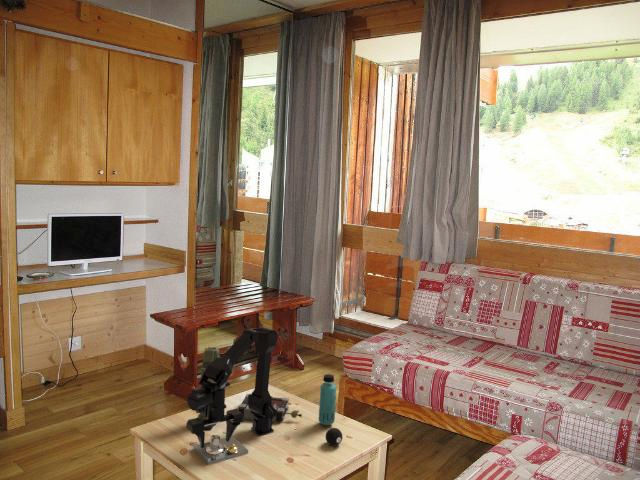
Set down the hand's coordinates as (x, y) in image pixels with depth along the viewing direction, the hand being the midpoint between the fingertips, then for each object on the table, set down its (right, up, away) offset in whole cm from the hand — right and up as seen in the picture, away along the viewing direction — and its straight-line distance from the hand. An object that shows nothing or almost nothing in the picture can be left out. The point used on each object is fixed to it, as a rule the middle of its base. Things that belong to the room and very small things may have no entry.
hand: (214, 444), depth 185 cm
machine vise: (+17, -1, +34) cm, 38 cm away
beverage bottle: (+38, -3, +27) cm, 47 cm away
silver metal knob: (0, -3, 0) cm, 3 cm away
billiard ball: (+41, -5, +12) cm, 43 cm away
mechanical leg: (-7, -1, +24) cm, 25 cm away
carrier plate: (+1, -4, +3) cm, 5 cm away
